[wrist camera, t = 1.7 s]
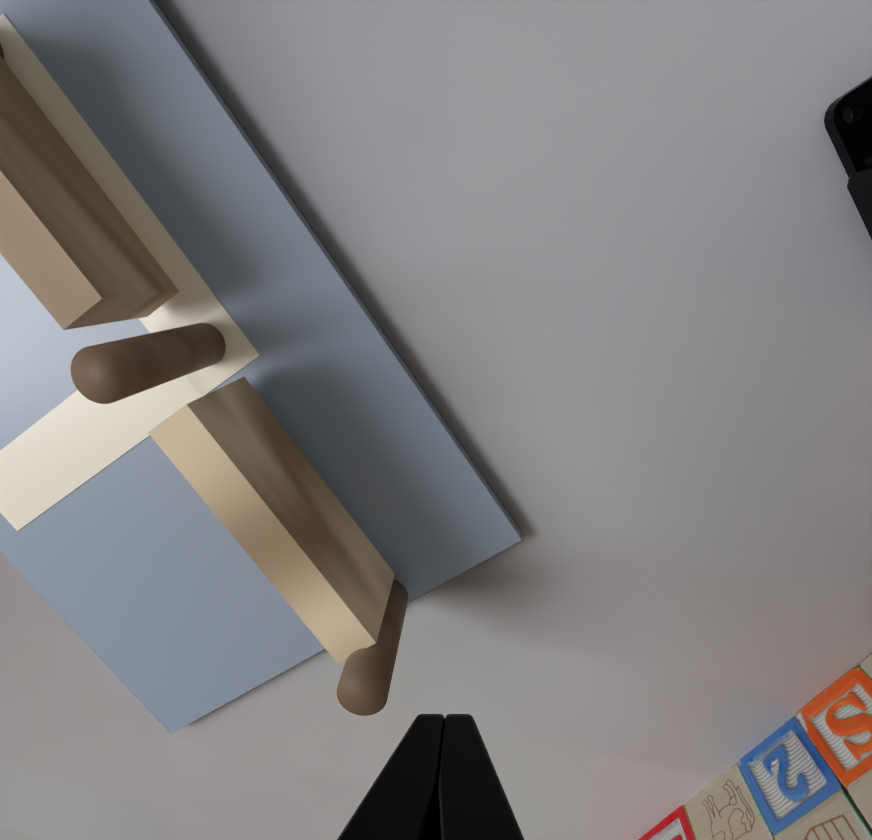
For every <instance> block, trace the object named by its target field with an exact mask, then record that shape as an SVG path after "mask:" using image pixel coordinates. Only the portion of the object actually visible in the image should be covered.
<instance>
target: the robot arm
mask: <svg viewBox="0 0 872 840" xmlns="http://www.w3.org/2000/svg"><path fill="white" fill-rule="evenodd" d="M846 106H847V107H850V108H851V109H852V110H853V118H852V120H851V122H850V123H848V122H846V121H845V120H844V119H843V111H844V109H845V107H846ZM824 123H825V127H826V130H827V132H828V134H829V136H830V138H831V141H832V143H833V145H834V147H835V149H836V151H837V153H838V156H839V158H840V160H841V162H842V164H843V166H844V168H845V171H846V173H847V175H848V177H849V180H848V185H847V188H848V190H849V192H850V194H851V196H852V198H853V201H854V203H855V205H856V207H857V209H858V211H859V213H860V215H861V218H862V220H863V222H864V224H865V226H866V228H867V230H868V232H869V235H870V237H871V239H872V76H871V77H870V78H868V79H867V80H865V81H864V82H862V83H861V84H859V85H858V86H856V87H855V88H853V89H852V90H850V91H849V92H847V93H845V94H844V95H842V96H841V97H839V98H838V99H836V100H835V101H834V102H833V103H832V104H831V105H830V106H829V107H828V109H827V111H826V113H825V118H824ZM337 840H524V838H523V835H522V833H521V830H520V828H519V826H518V823H517V821H516V819H515V816H514V814H513V811H512V809H511V807H510V804H509V802H508V799H507V797H506V795H505V792H504V790H503V788H502V785H501V783H500V780H499V778H498V776H497V773H496V771H495V768H494V766H493V764H492V761H491V759H490V756H489V754H488V752H487V749H486V747H485V745H484V742H483V740H482V737H481V735H480V733H479V730H478V728H477V725H476V723H475V721H474V719H473V717H472V716H471V715H470V714H448V715H447V716H446V718H444V716H443V715H442V714H420V715H418V716H417V717H416V719H415V720H414V722H413V723H412V725H411V726H410V728H409V729H408V731H407V732H406V734H405V736H404V737H403V739H402V740H401V742H400V743H399V745H398V746H397V748H396V749H395V751H394V753H393V754H392V756H391V757H390V759H389V760H388V762H387V763H386V765H385V766H384V768H383V770H382V771H381V773H380V774H379V776H378V777H377V779H376V780H375V782H374V783H373V785H372V787H371V788H370V790H369V791H368V793H367V794H366V796H365V797H364V799H363V800H362V802H361V804H360V805H359V807H358V808H357V810H356V811H355V813H354V814H353V816H352V817H351V819H350V821H349V822H348V824H347V825H346V827H345V828H344V830H343V831H342V833H341V835H340V836H339V838H338V839H337Z"/></svg>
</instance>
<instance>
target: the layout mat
mask: <svg viewBox="0 0 872 840" xmlns="http://www.w3.org/2000/svg"><path fill="white" fill-rule="evenodd" d="M0 43H1V46H2V48H3V52H4V61H5V63H6V64H7V65H8V67H9V68H10V69H11V71H12V72H13V73H14V75H15V76H16V77H17V78H18V80H19V81H20V82H21V84H22V85H23V86H24V88H25V89H26V90H27V92H28V93H29V94H30V96H31V97H32V98H33V99H34V101H35V102H36V103H37V105H38V106H39V107H40V109H41V110H42V111H43V113H44V114H45V115H46V117H47V118H48V119H49V120H50V122H51V123H52V124H53V126H54V127H55V128H56V130H57V131H58V132H59V134H60V135H61V136H62V138H63V139H64V140H65V141H66V143H67V144H68V145H69V147H70V148H71V149H72V151H73V152H74V153H75V155H76V156H77V157H78V159H79V160H80V161H81V162H82V164H83V165H84V166H85V168H86V169H87V170H88V172H89V173H90V174H91V176H92V177H93V178H94V180H95V181H96V182H97V183H98V185H99V186H100V187H101V189H102V190H103V191H104V193H105V194H106V195H107V197H108V198H109V199H110V201H111V202H112V203H113V204H114V206H115V207H116V208H117V210H118V211H119V212H120V214H121V215H122V216H123V218H124V219H125V220H126V222H127V223H128V224H129V226H130V227H131V228H132V229H133V231H134V232H135V233H136V235H137V236H138V237H139V239H140V240H141V241H142V243H143V244H144V245H145V247H146V248H147V249H148V250H149V252H150V253H151V254H152V256H153V257H154V258H155V260H156V261H157V262H158V264H159V265H160V266H161V268H162V269H163V270H164V271H165V273H166V274H167V275H168V277H169V278H170V279H171V281H172V282H173V283H174V285H175V286H176V287H177V289H178V290H179V292H178V293H177V294H176V295H174V296H173V297H172V298H171V299H169V300H168V301H167V302H166V303H164V304H163V305H162V306H160V307H159V308H158V309H157V310H155V311H154V312H153V313H152V314H150V315H149V316H148V317H143V318H137V319H131V320H124V321H118V322H112V323H105V324H99V325H93V326H86V327H80V328H74V329H68V330H63V329H62V328H61V327H60V325H59V324H58V323H57V322H56V320H55V319H54V318H53V317H52V316H51V314H50V313H49V312H48V311H47V310H46V308H45V307H44V306H43V305H42V303H41V302H40V301H39V300H38V299H37V297H36V296H35V295H34V294H33V292H32V291H31V290H30V289H29V288H28V286H27V285H26V284H25V283H24V282H23V280H22V279H21V278H20V277H19V275H18V274H17V273H16V272H15V271H14V269H13V268H12V267H11V266H10V265H9V263H8V262H7V261H6V260H5V258H4V257H3V256H2V255H1V254H0V552H1V553H2V554H3V555H4V556H5V557H6V558H7V559H8V561H9V562H10V563H11V564H12V565H13V566H14V567H15V568H16V569H17V570H18V571H19V572H20V573H21V574H22V576H23V577H24V578H25V579H26V580H27V581H28V582H29V583H30V584H31V585H32V586H33V587H34V588H35V589H36V590H37V592H38V593H39V594H40V595H41V596H42V597H43V598H44V599H45V600H46V601H47V602H48V603H49V604H50V605H51V607H52V608H53V609H54V610H55V611H56V612H57V613H58V614H59V615H60V616H61V617H62V618H63V619H64V620H65V622H66V623H67V624H68V625H69V626H70V627H71V628H72V629H73V630H74V631H75V632H76V633H77V634H78V635H79V637H80V638H81V639H82V640H83V641H84V642H85V643H86V644H87V645H88V646H89V647H90V648H91V649H92V650H93V652H94V653H95V654H96V655H97V656H98V657H99V658H100V659H101V660H102V661H103V662H104V663H105V664H106V665H107V666H108V668H109V669H110V670H111V671H112V672H113V673H114V674H115V675H116V676H117V677H118V678H119V679H120V680H121V681H122V683H123V684H124V685H125V686H126V687H127V688H128V689H129V690H130V691H131V692H132V693H133V694H134V695H135V696H136V698H137V699H138V700H139V701H140V702H141V703H142V704H143V705H144V706H145V707H146V708H147V709H148V710H149V711H150V713H151V714H152V715H153V716H154V717H155V718H156V719H157V720H158V721H159V722H160V723H161V724H162V725H163V726H164V728H165V729H166V730H167V731H168V732H169V733H170V734H172V733H174V732H175V731H177V730H179V729H181V728H183V727H184V726H186V725H188V724H190V723H192V722H193V721H195V720H197V719H199V718H201V717H202V716H204V715H206V714H208V713H210V712H212V711H213V710H215V709H217V708H219V707H221V706H222V705H224V704H226V703H228V702H230V701H231V700H233V699H235V698H237V697H239V696H241V695H242V694H244V693H246V692H248V691H250V690H251V689H253V688H255V687H257V686H259V685H260V684H262V683H264V682H266V681H268V680H269V679H271V678H273V677H275V676H277V675H279V674H280V673H282V672H284V671H286V670H288V669H289V668H291V667H293V666H295V665H297V664H298V663H300V662H302V661H304V660H306V659H308V658H309V657H311V656H313V655H315V654H317V653H318V652H320V651H322V650H324V649H325V648H324V646H323V645H322V644H321V643H320V642H319V640H318V639H317V638H316V637H315V636H314V634H313V633H312V632H311V631H310V629H309V628H308V627H307V626H306V625H305V623H304V622H303V621H302V620H301V618H300V617H299V616H298V615H297V614H296V612H295V611H294V610H293V609H292V608H291V606H290V605H289V604H288V603H287V601H286V600H285V599H284V598H283V597H282V595H281V594H280V593H279V592H278V591H277V589H276V588H275V587H274V586H273V584H272V583H271V582H270V581H269V580H268V578H267V577H266V576H265V575H264V573H263V572H262V571H261V570H260V569H259V567H258V566H257V565H256V564H255V563H254V561H253V560H252V559H251V558H250V556H249V555H248V554H247V553H246V552H245V550H244V549H243V548H242V547H241V545H240V544H239V543H238V542H237V541H236V539H235V538H234V537H233V536H232V535H231V533H230V532H229V531H228V530H227V528H226V527H225V526H224V525H223V524H222V522H221V521H220V520H219V519H218V518H217V516H216V515H215V514H214V513H213V511H212V510H211V509H210V508H209V507H208V505H207V504H206V503H205V502H204V500H203V499H202V498H201V497H200V496H199V494H198V493H197V492H196V491H195V490H194V488H193V487H192V486H191V485H190V483H189V482H188V481H187V480H186V479H185V477H184V476H183V475H182V474H181V473H180V471H179V470H178V469H177V468H176V466H175V465H174V464H173V463H172V462H171V460H170V459H169V458H168V457H167V455H166V454H165V453H164V452H163V451H162V449H161V448H160V447H159V446H158V445H157V443H156V442H155V441H154V440H153V438H152V437H151V436H150V435H149V434H148V432H149V431H150V430H152V429H153V428H154V427H156V426H157V425H159V424H160V423H161V422H163V421H164V420H165V419H167V418H168V417H170V416H171V415H172V414H174V413H175V412H176V411H178V410H179V409H181V408H182V407H183V406H185V405H186V404H188V403H190V402H192V401H194V400H196V399H198V398H200V397H203V396H205V395H207V394H209V393H211V392H213V391H215V390H217V389H219V388H221V387H223V386H225V385H228V384H230V383H232V382H234V381H236V380H238V379H240V378H242V377H244V376H245V378H246V379H247V380H248V382H249V383H250V384H251V386H252V387H253V388H254V390H255V391H256V392H257V394H258V395H259V396H260V397H261V399H262V400H263V401H264V403H265V404H266V405H267V407H268V408H269V409H270V411H271V412H272V413H273V415H274V416H275V417H276V419H277V420H278V421H279V422H280V424H281V425H282V426H283V428H284V429H285V430H286V432H287V433H288V434H289V436H290V437H291V438H292V440H293V441H294V442H295V443H296V445H297V446H298V447H299V449H300V450H301V451H302V453H303V454H304V455H305V457H306V458H307V459H308V461H309V462H310V463H311V464H312V466H313V467H314V468H315V470H316V471H317V472H318V474H319V475H320V476H321V478H322V479H323V480H324V482H325V483H326V484H327V485H328V487H329V488H330V489H331V491H332V492H333V493H334V495H335V496H336V497H337V499H338V500H339V501H340V503H341V504H342V505H343V506H344V508H345V509H346V510H347V512H348V513H349V514H350V516H351V517H352V518H353V520H354V521H355V522H356V524H357V525H358V526H359V527H360V529H361V530H362V531H363V533H364V534H365V535H366V537H367V538H368V539H369V541H370V542H371V543H372V545H373V546H374V547H375V548H376V550H377V551H378V552H379V554H380V555H381V556H382V558H383V559H384V560H385V562H386V563H387V564H388V566H389V567H390V568H391V569H392V571H393V572H394V573H395V576H394V580H397V581H399V582H400V583H401V584H403V585H404V587H405V588H406V590H407V592H408V602H407V603H409V602H411V601H413V600H414V599H416V598H418V597H420V596H422V595H423V594H425V593H427V592H429V591H431V590H432V589H434V588H436V587H438V586H440V585H442V584H443V583H445V582H447V581H449V580H451V579H452V578H454V577H456V576H458V575H460V574H461V573H463V572H465V571H467V570H469V569H471V568H472V567H474V566H476V565H478V564H480V563H481V562H483V561H485V560H487V559H489V558H490V557H492V556H494V555H496V554H498V553H500V552H501V551H503V550H505V549H507V548H509V547H510V546H512V545H514V544H516V543H518V542H519V541H521V540H522V537H521V532H520V530H519V529H518V527H517V526H516V524H515V523H514V521H513V520H512V519H511V517H510V516H509V514H508V513H507V511H506V510H505V508H504V507H503V505H502V504H501V503H500V501H499V500H498V498H497V497H496V495H495V494H494V492H493V491H492V490H491V488H490V487H489V485H488V484H487V482H486V481H485V479H484V478H483V476H482V475H481V474H480V472H479V471H478V469H477V468H476V466H475V465H474V463H473V462H472V461H471V459H470V458H469V456H468V455H467V453H466V452H465V450H464V449H463V448H462V446H461V445H460V443H459V442H458V440H457V439H456V437H455V436H454V434H453V433H452V432H451V430H450V429H449V427H448V426H447V424H446V423H445V421H444V420H443V419H442V417H441V416H440V414H439V413H438V411H437V410H436V408H435V407H434V406H433V404H432V403H431V401H430V400H429V398H428V397H427V395H426V394H425V392H424V391H423V390H422V388H421V387H420V385H419V384H418V382H417V381H416V379H415V378H414V377H413V375H412V374H411V372H410V371H409V369H408V368H407V366H406V365H405V363H404V362H403V361H402V359H401V358H400V356H399V355H398V353H397V352H396V350H395V349H394V348H393V346H392V345H391V343H390V342H389V340H388V339H387V337H386V336H385V335H384V333H383V332H382V330H381V329H380V327H379V326H378V324H377V323H376V321H375V320H374V319H373V317H372V316H371V314H370V313H369V311H368V310H367V308H366V307H365V306H364V304H363V303H362V301H361V300H360V298H359V297H358V295H357V294H356V292H355V291H354V290H353V288H352V287H351V285H350V284H349V282H348V281H347V279H346V278H345V277H344V275H343V274H342V272H341V271H340V269H339V268H338V266H337V265H336V264H335V262H334V261H333V259H332V258H331V256H330V255H329V253H328V252H327V250H326V249H325V248H324V246H323V245H322V243H321V242H320V240H319V239H318V237H317V236H316V235H315V233H314V232H313V230H312V229H311V227H310V226H309V224H308V223H307V221H306V220H305V219H304V217H303V216H302V214H301V213H300V211H299V210H298V208H297V207H296V206H295V204H294V203H293V201H292V200H291V198H290V197H289V195H288V194H287V193H286V191H285V190H284V188H283V187H282V185H281V184H280V182H279V181H278V179H277V178H276V177H275V175H274V174H273V172H272V171H271V169H270V168H269V166H268V165H267V164H266V162H265V161H264V159H263V158H262V156H261V155H260V153H259V152H258V150H257V149H256V148H255V146H254V145H253V143H252V142H251V140H250V139H249V137H248V136H247V135H246V133H245V132H244V130H243V129H242V127H241V126H240V124H239V123H238V122H237V120H236V119H235V117H234V116H233V114H232V113H231V111H230V110H229V108H228V107H227V106H226V104H225V103H224V101H223V100H222V98H221V97H220V95H219V94H218V93H217V91H216V90H215V88H214V87H213V85H212V84H211V82H210V81H209V79H208V78H207V77H206V75H205V74H204V72H203V71H202V69H201V68H200V66H199V65H198V64H197V62H196V61H195V59H194V58H193V56H192V55H191V53H190V52H189V51H188V49H187V48H186V46H185V45H184V43H183V42H182V40H181V39H180V37H179V36H178V35H177V33H176V32H175V30H174V29H173V27H172V26H171V24H170V23H169V22H168V20H167V19H166V17H165V16H164V14H163V13H162V11H161V10H160V8H159V7H158V6H157V4H156V3H155V1H154V0H0ZM197 323H207V324H210V325H212V326H214V327H215V328H217V329H218V330H219V331H220V332H221V334H222V335H223V337H224V340H225V345H226V349H225V354H224V356H223V358H222V359H221V360H220V361H219V362H218V363H216V364H214V365H211V366H209V367H206V368H203V369H201V370H198V371H195V372H193V373H190V374H187V375H185V376H182V377H180V378H177V379H174V380H172V381H169V382H166V383H164V384H161V385H158V386H156V387H153V388H150V389H148V390H145V391H143V392H140V393H137V394H135V395H132V396H129V397H127V398H124V399H121V400H119V401H116V402H114V403H110V404H99V403H95V402H93V401H91V400H89V399H87V398H86V397H84V396H83V395H82V394H81V393H80V392H79V391H78V389H77V388H76V386H75V385H74V383H73V380H72V377H71V370H70V369H71V362H72V359H73V357H74V356H75V354H76V353H77V352H78V351H79V350H81V349H82V348H84V347H88V346H92V345H97V344H102V343H106V342H111V341H116V340H121V339H125V338H130V337H135V336H140V335H144V334H149V333H154V332H159V331H163V330H168V329H173V328H178V327H182V326H187V325H192V324H197Z"/></svg>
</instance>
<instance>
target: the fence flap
mask: <svg viewBox="0 0 872 840" xmlns="http://www.w3.org/2000/svg"><path fill="white" fill-rule="evenodd" d="M148 434H149V435H150V436H151V437H152V438H153V440H154V441H155V442H156V443H157V445H158V446H159V447H160V448H161V449H162V451H163V452H164V453H165V454H166V455H167V457H168V458H169V459H170V460H171V462H172V463H173V464H174V465H175V466H176V468H177V469H178V470H179V471H180V473H181V474H182V475H183V476H184V477H185V479H186V480H187V481H188V482H189V483H190V485H191V486H192V487H193V488H194V490H195V491H196V492H197V493H198V494H199V496H200V497H201V498H202V499H203V500H204V502H205V503H206V504H207V505H208V507H209V508H210V509H211V510H212V511H213V513H214V514H215V515H216V516H217V518H218V519H219V520H220V521H221V522H222V524H223V525H224V526H225V527H226V528H227V530H228V531H229V532H230V533H231V535H232V536H233V537H234V538H235V539H236V541H237V542H238V543H239V544H240V545H241V547H242V548H243V549H244V550H245V552H246V553H247V554H248V555H249V556H250V558H251V559H252V560H253V561H254V563H255V564H256V565H257V566H258V567H259V569H260V570H261V571H262V572H263V573H264V575H265V576H266V577H267V578H268V580H269V581H270V582H271V583H272V584H273V586H274V587H275V588H276V589H277V591H278V592H279V593H280V594H281V595H282V597H283V598H284V599H285V600H286V601H287V603H288V604H289V605H290V606H291V608H292V609H293V610H294V611H295V612H296V614H297V615H298V616H299V617H300V618H301V620H302V621H303V622H304V623H305V625H306V626H307V627H308V628H309V629H310V631H311V632H312V633H313V634H314V636H315V637H316V638H317V639H318V640H319V642H320V643H321V644H322V645H323V646H324V648H325V649H326V650H327V651H328V653H329V654H330V655H331V656H332V657H333V659H334V660H335V661H336V662H337V663H340V662H342V661H344V660H346V659H347V660H346V663H345V666H344V669H343V672H342V675H341V678H340V681H339V684H338V687H337V698H338V700H339V702H340V704H341V705H342V706H343V707H344V708H345V709H346V710H348V711H349V712H351V713H354V714H357V715H364V716H366V715H372V714H375V713H377V712H379V711H380V710H382V709H383V707H384V706H385V704H386V702H387V698H388V693H389V688H390V683H391V679H392V674H393V669H394V664H395V659H396V655H397V650H398V645H399V640H400V636H401V631H402V626H403V621H404V617H405V612H406V607H407V602H408V592H407V590H406V588H405V587H404V585H403V584H401V583H400V582H399V581H397V580H394V576H395V573H394V572H393V571H392V569H391V568H390V567H389V566H388V564H387V563H386V562H385V560H384V559H383V558H382V556H381V555H380V554H379V552H378V551H377V550H376V548H375V547H374V546H373V545H372V543H371V542H370V541H369V539H368V538H367V537H366V535H365V534H364V533H363V531H362V530H361V529H360V527H359V526H358V525H357V524H356V522H355V521H354V520H353V518H352V517H351V516H350V514H349V513H348V512H347V510H346V509H345V508H344V506H343V505H342V504H341V503H340V501H339V500H338V499H337V497H336V496H335V495H334V493H333V492H332V491H331V489H330V488H329V487H328V485H327V484H326V483H325V482H324V480H323V479H322V478H321V476H320V475H319V474H318V472H317V471H316V470H315V468H314V467H313V466H312V464H311V463H310V462H309V461H308V459H307V458H306V457H305V455H304V454H303V453H302V451H301V450H300V449H299V447H298V446H297V445H296V443H295V442H294V441H293V440H292V438H291V437H290V436H289V434H288V433H287V432H286V430H285V429H284V428H283V426H282V425H281V424H280V422H279V421H278V420H277V419H276V417H275V416H274V415H273V413H272V412H271V411H270V409H269V408H268V407H267V405H266V404H265V403H264V401H263V400H262V399H261V397H260V396H259V395H258V394H257V392H256V391H255V390H254V388H253V387H252V386H251V384H250V383H249V382H248V380H247V379H246V378H245V376H244V377H242V378H240V379H238V380H236V381H234V382H232V383H230V384H228V385H225V386H223V387H221V388H219V389H217V390H215V391H213V392H211V393H209V394H207V395H205V396H203V397H200V398H198V399H196V400H194V401H192V402H190V403H188V404H186V405H185V406H183V407H182V408H181V409H179V410H178V411H176V412H175V413H174V414H172V415H171V416H170V417H168V418H167V419H165V420H164V421H163V422H161V423H160V424H159V425H157V426H156V427H154V428H153V429H152V430H150V431H149V432H148Z"/></svg>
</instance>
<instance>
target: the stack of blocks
mask: <svg viewBox="0 0 872 840" xmlns="http://www.w3.org/2000/svg"><path fill="white" fill-rule="evenodd" d="M639 840H872V653H871V654H870V655H869V656H868V657H867V658H866V659H865V660H863V661H862V663H861V664H860V666H859V667H856V668H853V669H852V670H850V671H849V672H848V673H846V674H845V675H843V676H842V677H841V678H840V679H838V680H837V681H836V682H835V683H833V684H832V685H831V686H830V687H829V688H827V689H826V690H825V691H823V692H822V693H821V694H819V695H818V696H817V697H815V698H814V699H813V700H812V701H810V702H809V703H808V704H807V705H806V706H804V707H803V708H802V709H800V710H799V711H798V712H797V715H796V717H795V718H792V719H790V720H789V721H788V722H786V723H785V724H784V725H783V726H782V727H780V728H779V729H778V730H777V731H776V732H774V733H773V734H772V735H770V736H769V737H768V738H767V739H765V740H764V741H763V742H762V743H761V744H759V745H758V746H757V747H755V748H754V749H753V750H752V751H751V752H749V753H748V754H747V755H745V756H744V757H743V758H741V759H740V761H739V763H738V764H736V765H734V766H733V767H731V768H730V769H729V770H727V771H726V772H725V773H724V774H722V775H721V776H720V777H719V778H718V779H716V780H715V781H714V782H713V783H711V784H710V785H709V786H708V787H706V788H705V789H704V790H703V791H701V792H700V793H699V794H698V795H696V796H695V797H694V798H693V799H691V800H690V801H689V802H688V803H687V804H686V805H684V806H681V807H679V808H678V809H677V810H675V811H674V812H673V813H671V814H670V815H669V816H668V817H666V818H665V819H664V820H663V821H661V822H660V823H659V824H658V825H656V826H655V827H654V828H653V829H651V830H650V831H649V832H648V833H646V834H645V835H644V836H643V837H641V838H640V839H639Z"/></svg>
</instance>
